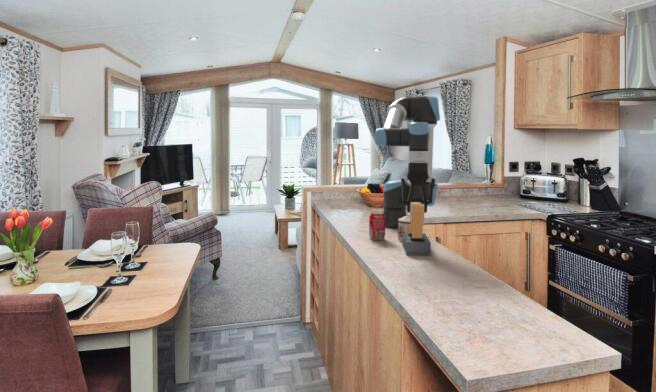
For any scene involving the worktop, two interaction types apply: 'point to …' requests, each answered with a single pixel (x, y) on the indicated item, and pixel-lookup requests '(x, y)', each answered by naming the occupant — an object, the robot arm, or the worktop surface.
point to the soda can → (377, 225)
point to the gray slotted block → (416, 245)
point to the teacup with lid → (403, 226)
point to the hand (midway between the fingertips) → (416, 220)
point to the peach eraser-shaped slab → (417, 220)
